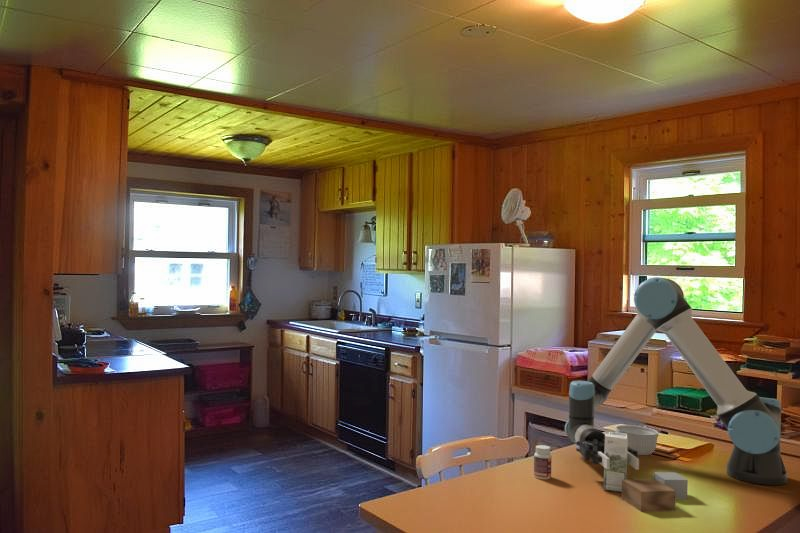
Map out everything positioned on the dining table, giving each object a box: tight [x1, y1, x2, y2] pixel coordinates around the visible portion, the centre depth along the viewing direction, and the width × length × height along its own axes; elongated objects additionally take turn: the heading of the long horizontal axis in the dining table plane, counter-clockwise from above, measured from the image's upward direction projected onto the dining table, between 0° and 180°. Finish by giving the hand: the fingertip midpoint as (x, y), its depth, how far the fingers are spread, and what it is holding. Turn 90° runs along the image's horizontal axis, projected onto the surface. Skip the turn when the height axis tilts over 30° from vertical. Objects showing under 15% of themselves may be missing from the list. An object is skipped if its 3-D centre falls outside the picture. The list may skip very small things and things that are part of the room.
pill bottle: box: [533, 444, 553, 480], centre depth 174 cm, size 5×5×8 cm
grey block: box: [653, 471, 688, 500], centre depth 162 cm, size 6×6×5 cm
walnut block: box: [621, 478, 677, 513], centre depth 154 cm, size 9×9×5 cm
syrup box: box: [603, 431, 628, 493], centre depth 165 cm, size 6×6×14 cm
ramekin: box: [614, 424, 659, 456], centre depth 204 cm, size 13×13×7 cm
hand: (622, 464), depth 160 cm, fingers closed on syrup box, 7 cm apart
